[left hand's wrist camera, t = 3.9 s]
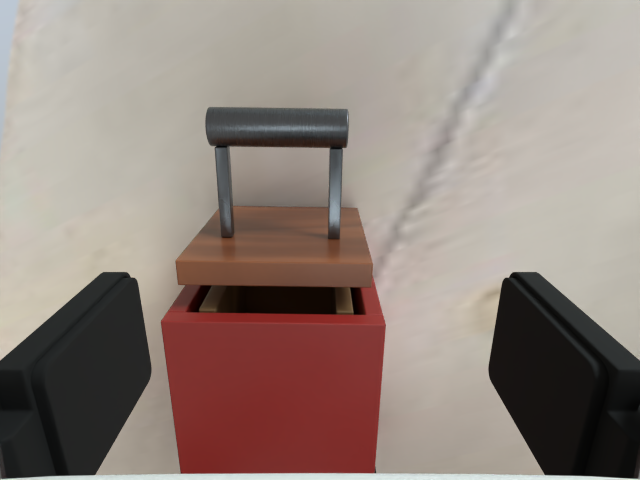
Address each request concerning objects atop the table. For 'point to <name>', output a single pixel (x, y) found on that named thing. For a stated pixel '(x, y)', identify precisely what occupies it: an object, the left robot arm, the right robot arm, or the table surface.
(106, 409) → the left robot arm
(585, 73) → the table surface
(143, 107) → the table surface
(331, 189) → the drawer
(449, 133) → the table surface
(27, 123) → the table surface
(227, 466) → the cabinet
